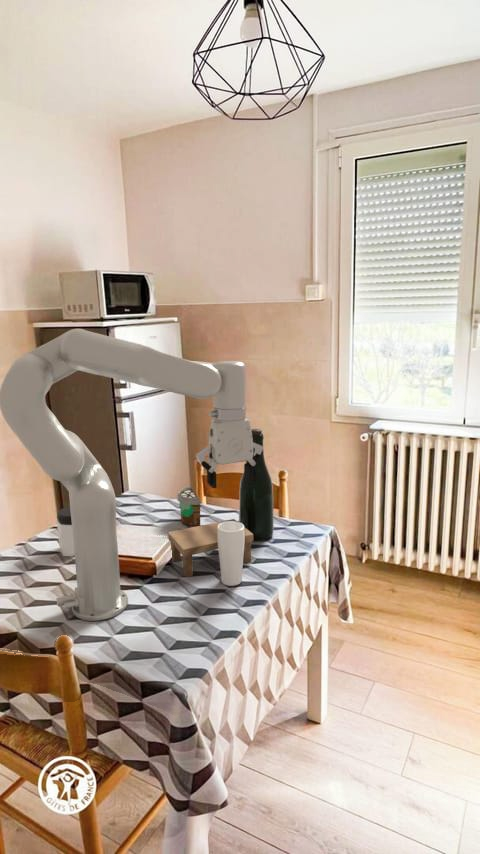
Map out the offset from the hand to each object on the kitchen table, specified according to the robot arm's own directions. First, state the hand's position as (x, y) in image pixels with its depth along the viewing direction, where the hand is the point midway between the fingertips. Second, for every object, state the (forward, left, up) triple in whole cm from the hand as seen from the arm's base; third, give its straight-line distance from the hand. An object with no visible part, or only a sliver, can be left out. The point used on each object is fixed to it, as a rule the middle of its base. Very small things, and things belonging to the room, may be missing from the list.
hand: (230, 483), depth 127 cm
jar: (-32, +37, -26) cm, 56 cm away
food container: (+4, +41, -26) cm, 49 cm away
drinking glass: (0, 0, -26) cm, 26 cm away
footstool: (0, +13, -26) cm, 29 cm away
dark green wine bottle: (+19, +22, -26) cm, 39 cm away
